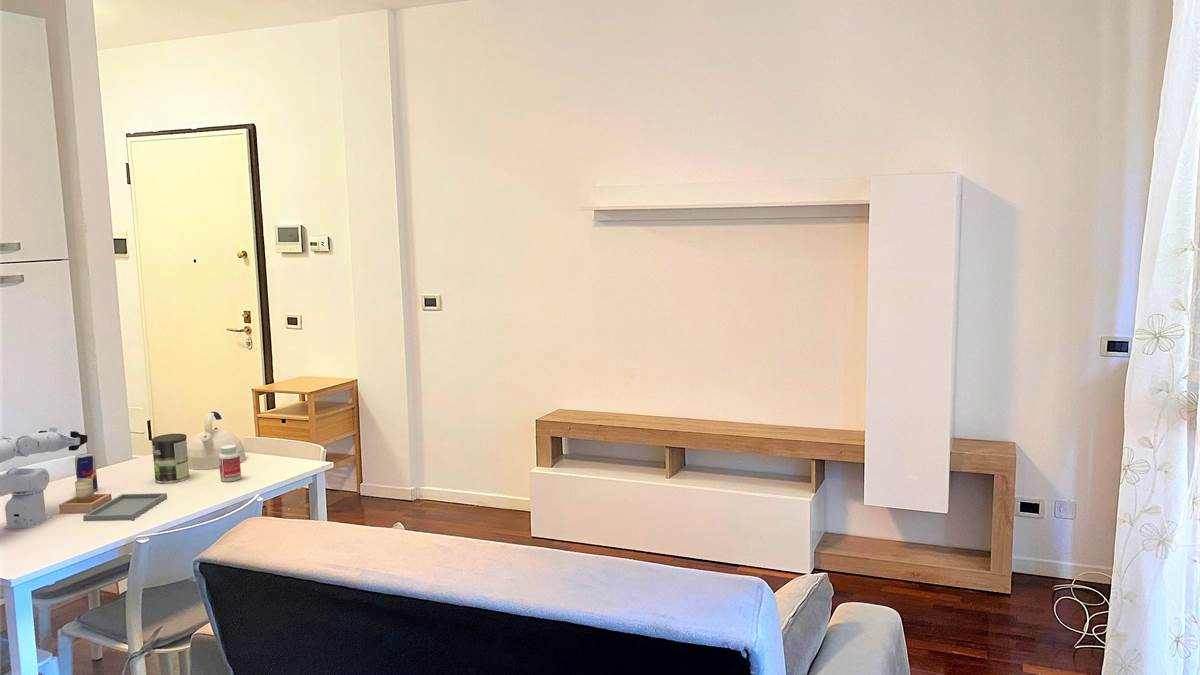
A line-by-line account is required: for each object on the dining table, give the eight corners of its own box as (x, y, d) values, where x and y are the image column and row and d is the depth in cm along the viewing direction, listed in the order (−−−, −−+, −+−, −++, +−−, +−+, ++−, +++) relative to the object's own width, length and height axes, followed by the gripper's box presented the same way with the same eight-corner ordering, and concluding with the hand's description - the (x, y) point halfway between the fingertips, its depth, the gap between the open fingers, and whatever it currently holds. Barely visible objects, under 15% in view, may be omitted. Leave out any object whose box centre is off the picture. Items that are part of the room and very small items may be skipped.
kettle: (175, 472, 284) (170, 420, 282) (192, 456, 304) (188, 407, 302) (238, 468, 288) (235, 416, 285) (251, 452, 308) (247, 404, 306)
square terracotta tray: (93, 513, 242) (92, 503, 242) (60, 514, 242) (58, 504, 242) (112, 503, 252) (111, 493, 252) (80, 503, 252) (79, 494, 252)
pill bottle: (245, 477, 276) (243, 445, 274) (230, 483, 270) (228, 449, 269) (231, 475, 278) (228, 443, 277) (216, 481, 273) (213, 448, 271)
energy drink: (88, 495, 260) (85, 457, 258) (74, 494, 261) (70, 457, 259) (102, 490, 265) (98, 453, 264) (87, 489, 266) (83, 452, 265)
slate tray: (132, 521, 236) (131, 514, 235) (83, 522, 236) (83, 516, 235) (167, 498, 255) (166, 493, 255) (122, 499, 255) (121, 494, 255)
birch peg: (89, 509, 245) (86, 483, 244) (74, 510, 245) (71, 483, 244) (98, 504, 249) (95, 478, 248) (83, 505, 249) (80, 479, 248)
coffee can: (159, 485, 269) (156, 442, 267) (151, 479, 277) (147, 437, 275) (194, 478, 276) (190, 437, 274) (184, 472, 283) (181, 431, 281)
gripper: (64, 429, 239) (97, 425, 253) (17, 428, 241) (52, 424, 254) (63, 454, 239) (96, 449, 253) (16, 453, 240) (51, 448, 254)
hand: (74, 438), depth 253 cm, fingers open, 7 cm apart
